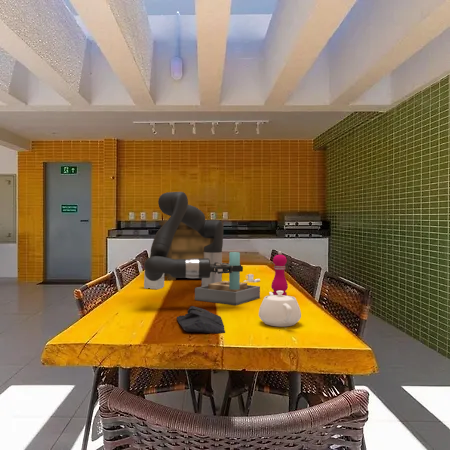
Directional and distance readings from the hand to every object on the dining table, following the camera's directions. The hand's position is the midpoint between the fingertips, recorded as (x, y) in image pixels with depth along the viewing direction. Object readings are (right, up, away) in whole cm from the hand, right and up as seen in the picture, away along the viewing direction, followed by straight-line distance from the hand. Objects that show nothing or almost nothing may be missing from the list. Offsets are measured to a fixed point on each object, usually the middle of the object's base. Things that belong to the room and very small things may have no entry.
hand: (241, 267), depth 171 cm
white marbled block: (-41, -14, +44) cm, 62 cm away
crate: (-27, -14, +86) cm, 92 cm away
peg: (-3, -8, 0) cm, 8 cm away
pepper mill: (+18, -15, +24) cm, 34 cm away
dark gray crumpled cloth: (-14, -16, -30) cm, 37 cm away
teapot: (+11, -16, -26) cm, 33 cm away
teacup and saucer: (+8, -15, +68) cm, 70 cm away
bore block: (-5, -15, +17) cm, 23 cm away
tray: (-5, -15, +17) cm, 23 cm away
